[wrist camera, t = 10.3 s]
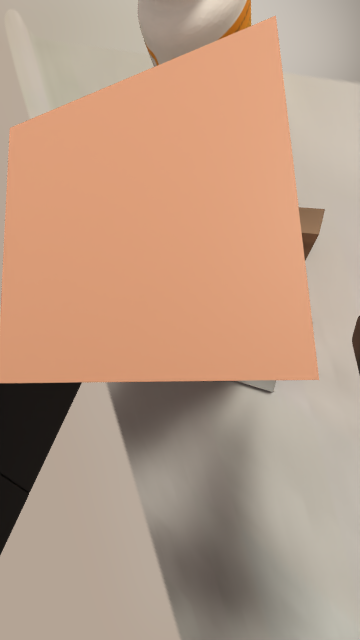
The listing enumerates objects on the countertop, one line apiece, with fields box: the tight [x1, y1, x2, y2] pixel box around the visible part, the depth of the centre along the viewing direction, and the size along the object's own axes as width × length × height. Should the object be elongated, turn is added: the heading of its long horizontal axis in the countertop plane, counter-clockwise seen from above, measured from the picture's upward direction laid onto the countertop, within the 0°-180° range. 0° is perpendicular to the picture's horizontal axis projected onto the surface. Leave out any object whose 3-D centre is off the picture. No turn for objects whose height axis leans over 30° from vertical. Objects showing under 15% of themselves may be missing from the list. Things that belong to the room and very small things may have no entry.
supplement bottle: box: [138, 0, 251, 67], centre depth 13 cm, size 5×5×10 cm
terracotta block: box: [0, 16, 319, 383], centre depth 10 cm, size 4×4×13 cm
